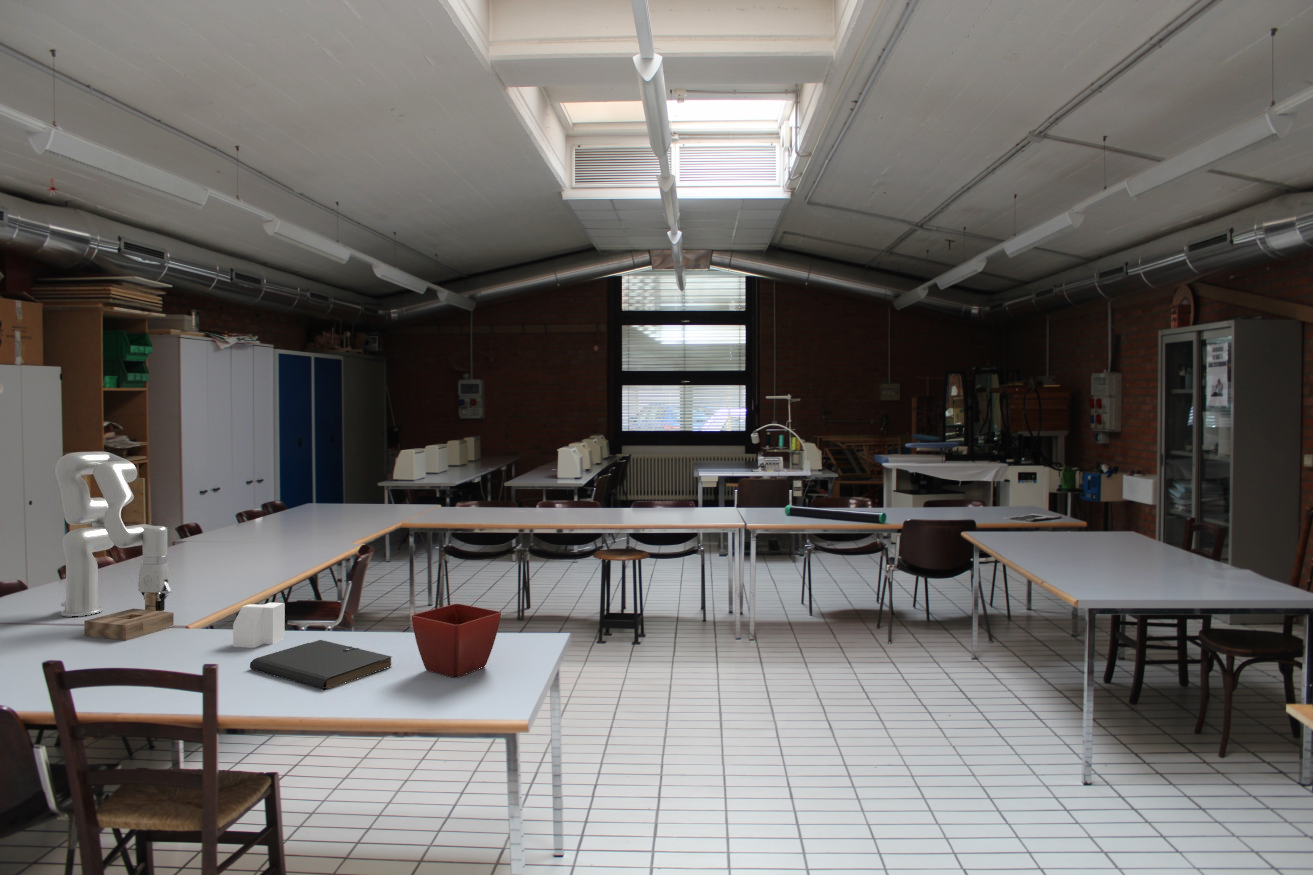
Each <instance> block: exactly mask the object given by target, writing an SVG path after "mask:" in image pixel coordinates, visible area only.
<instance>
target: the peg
mask: <svg viewBox="0 0 1313 875" xmlns="http://www.w3.org/2000/svg"><path fill="white" fill-rule="evenodd" d="M161 595H162V593H160V596H161ZM156 601H157V596H156V593H149V592H146V605H145V604H144V607H145V606H146V610H153V611H156ZM163 612H165V609H164V610H163Z"/></svg>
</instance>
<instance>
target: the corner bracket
mask: <svg viewBox="0 0 1313 875" xmlns="http://www.w3.org/2000/svg"><path fill="white" fill-rule="evenodd" d="M285 605H286V604H285V602H267V603H265V604H253V603H252V604H251V603H250V604H249V603H248V604H246V605H243V606H242V607H241V608H240V610H239V613H238V614H237V616H236V618H235V619H234V622H233V625H232V632H233V633H232V648H248V649H249V648H250V649H251V648H254V649H255V648H257V647H259V646H262V645H268V644H269V645H274V644H275V643H278V642H280V641H282V640H284V639H285V636H286V635H285V629H286V628H285V626H286V624H285V623H286V622H285V616H286V614H285V610H286V609H285V608H286V606H285Z"/></svg>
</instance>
